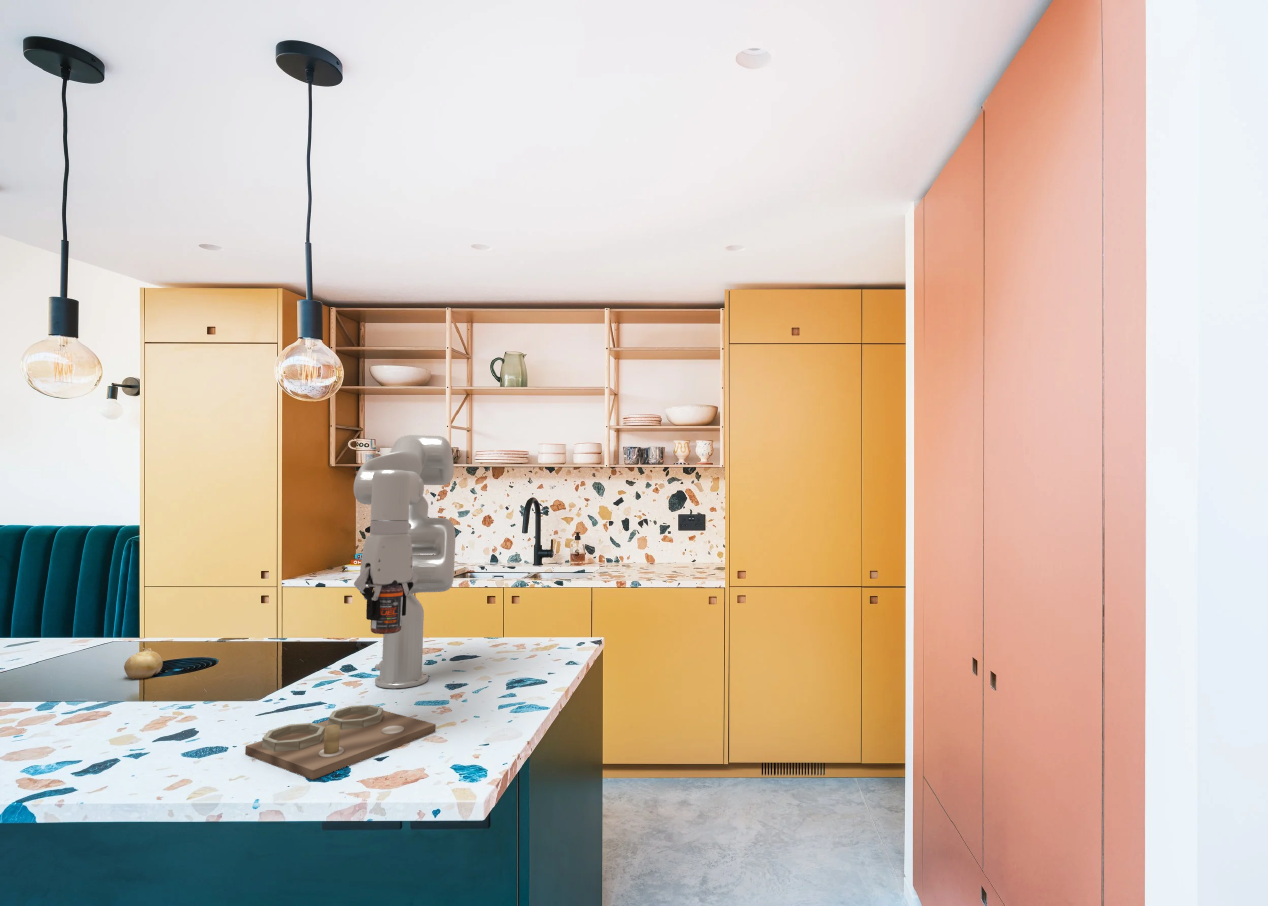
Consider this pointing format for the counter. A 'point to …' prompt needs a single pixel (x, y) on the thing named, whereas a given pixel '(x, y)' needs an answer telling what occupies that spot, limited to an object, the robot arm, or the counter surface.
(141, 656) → the onion
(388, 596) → the supplement bottle
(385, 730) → the board
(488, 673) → the counter surface
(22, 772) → the counter surface
